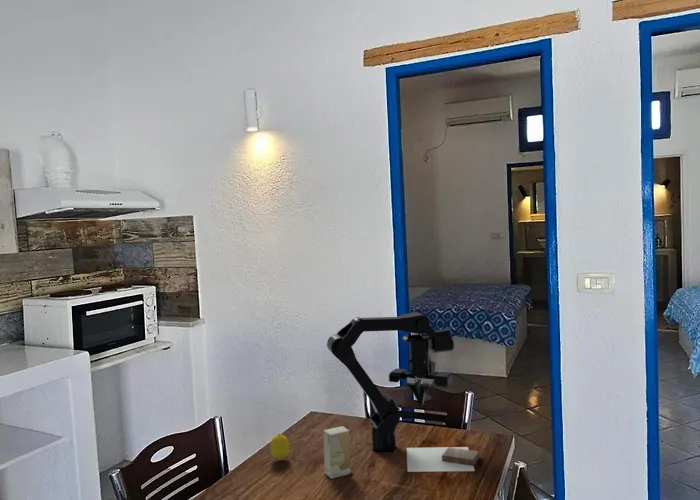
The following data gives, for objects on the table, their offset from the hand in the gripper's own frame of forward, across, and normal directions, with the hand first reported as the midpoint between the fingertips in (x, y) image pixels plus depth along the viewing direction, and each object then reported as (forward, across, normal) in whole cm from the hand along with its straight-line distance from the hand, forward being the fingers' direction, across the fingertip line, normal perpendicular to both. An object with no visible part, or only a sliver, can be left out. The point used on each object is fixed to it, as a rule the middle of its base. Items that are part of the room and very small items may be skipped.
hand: (421, 405), depth 174 cm
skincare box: (+12, +15, +28) cm, 34 cm away
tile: (+11, -10, +8) cm, 17 cm away
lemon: (+12, +35, +26) cm, 45 cm away
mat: (+12, -8, +10) cm, 18 cm away
